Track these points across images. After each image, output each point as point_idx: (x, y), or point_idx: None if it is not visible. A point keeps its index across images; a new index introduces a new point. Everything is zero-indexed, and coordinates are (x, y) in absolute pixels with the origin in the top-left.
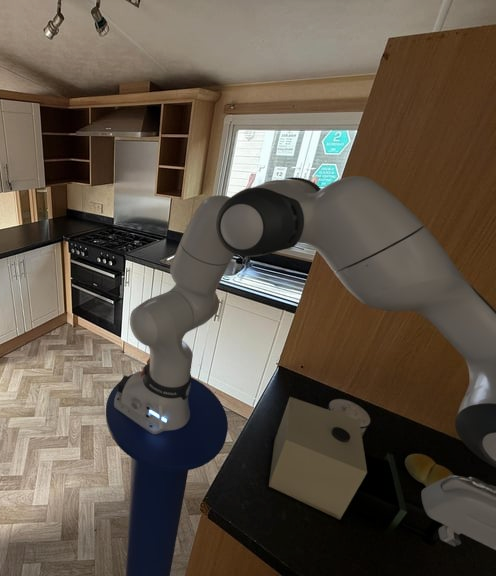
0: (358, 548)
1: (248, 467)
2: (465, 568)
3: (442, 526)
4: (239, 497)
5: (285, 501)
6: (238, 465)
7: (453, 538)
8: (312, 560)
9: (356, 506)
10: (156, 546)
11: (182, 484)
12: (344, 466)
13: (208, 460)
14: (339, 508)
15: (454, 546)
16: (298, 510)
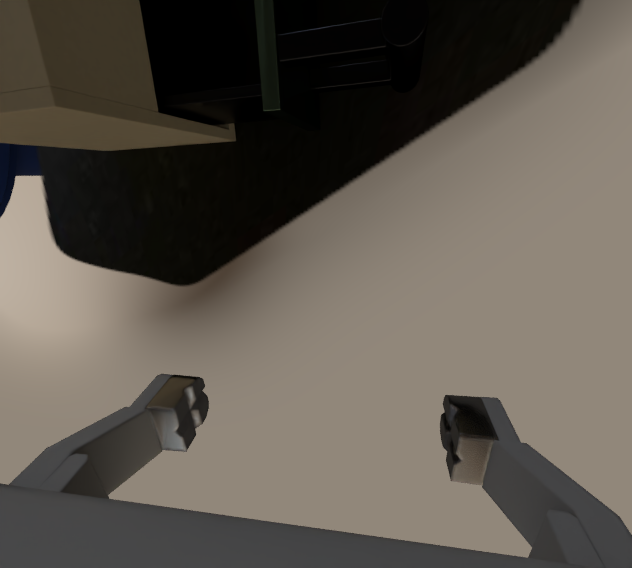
0: (271, 190)
1: None
2: (493, 86)
3: (144, 390)
4: (81, 214)
5: (142, 167)
6: None
7: (153, 457)
8: (205, 262)
9: (225, 115)
10: None
11: None
12: (16, 117)
13: (7, 166)
14: (205, 138)
15: (205, 416)
16: (166, 173)
